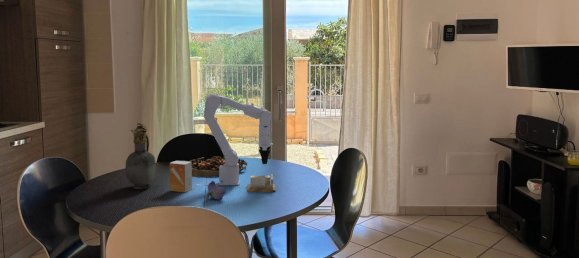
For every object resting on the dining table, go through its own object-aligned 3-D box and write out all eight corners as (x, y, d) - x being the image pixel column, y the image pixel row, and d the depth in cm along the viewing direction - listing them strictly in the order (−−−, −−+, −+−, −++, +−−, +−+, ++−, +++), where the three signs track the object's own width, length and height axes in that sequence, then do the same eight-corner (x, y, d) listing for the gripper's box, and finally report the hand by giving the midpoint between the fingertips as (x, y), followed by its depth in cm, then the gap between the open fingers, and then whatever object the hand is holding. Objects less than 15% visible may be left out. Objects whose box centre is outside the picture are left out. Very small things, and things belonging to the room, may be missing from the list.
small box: (169, 191, 220) (168, 162, 218) (176, 187, 226) (176, 160, 224) (185, 192, 218) (184, 164, 216) (192, 189, 224) (191, 161, 222)
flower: (210, 189, 199) (219, 175, 207) (196, 195, 203) (206, 180, 211) (223, 205, 202) (232, 190, 210) (209, 210, 206) (218, 195, 214)
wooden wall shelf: (246, 192, 220) (246, 179, 219) (247, 185, 230) (247, 173, 230) (275, 191, 220) (275, 179, 219) (275, 185, 231) (275, 173, 230)
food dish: (232, 163, 287) (232, 150, 286) (258, 175, 259) (258, 161, 258) (173, 167, 269) (174, 153, 268) (195, 181, 241) (195, 166, 240)
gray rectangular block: (250, 188, 223) (250, 177, 223) (250, 186, 227) (250, 175, 226) (270, 188, 224) (270, 177, 223) (270, 186, 227) (270, 175, 226)
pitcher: (123, 191, 219) (121, 125, 214) (138, 181, 238) (136, 120, 233) (147, 192, 218) (145, 125, 214) (160, 181, 237) (158, 120, 233)
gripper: (273, 137, 227) (273, 165, 229) (272, 132, 241) (272, 159, 243) (258, 137, 227) (258, 165, 229) (258, 132, 241) (258, 159, 243)
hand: (264, 162), depth 236 cm, fingers open, 7 cm apart
